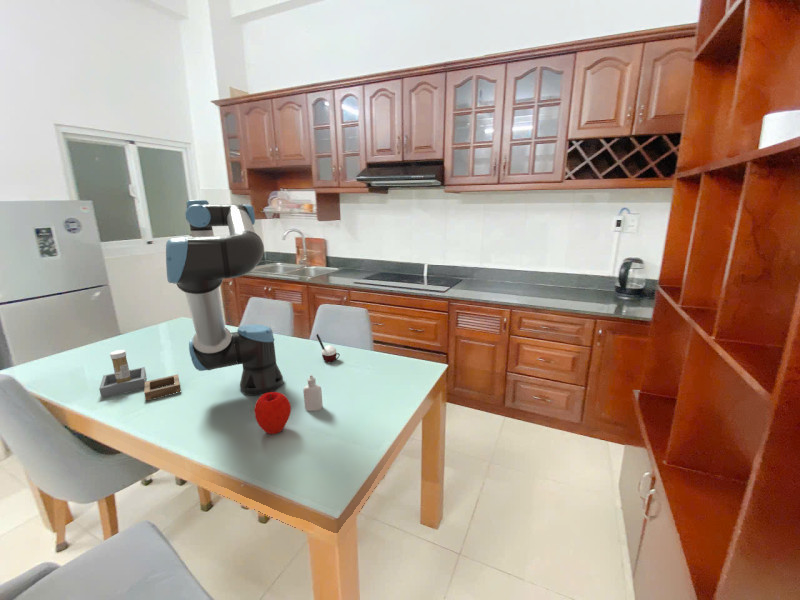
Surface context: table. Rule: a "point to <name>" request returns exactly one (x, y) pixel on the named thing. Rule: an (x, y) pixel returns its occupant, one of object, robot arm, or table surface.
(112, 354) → the sprinkles bottle
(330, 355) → the cocoa
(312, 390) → the eye dropper bottle
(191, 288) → the robot arm
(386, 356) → the table surface
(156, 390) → the walnut collar
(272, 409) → the apple
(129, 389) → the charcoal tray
